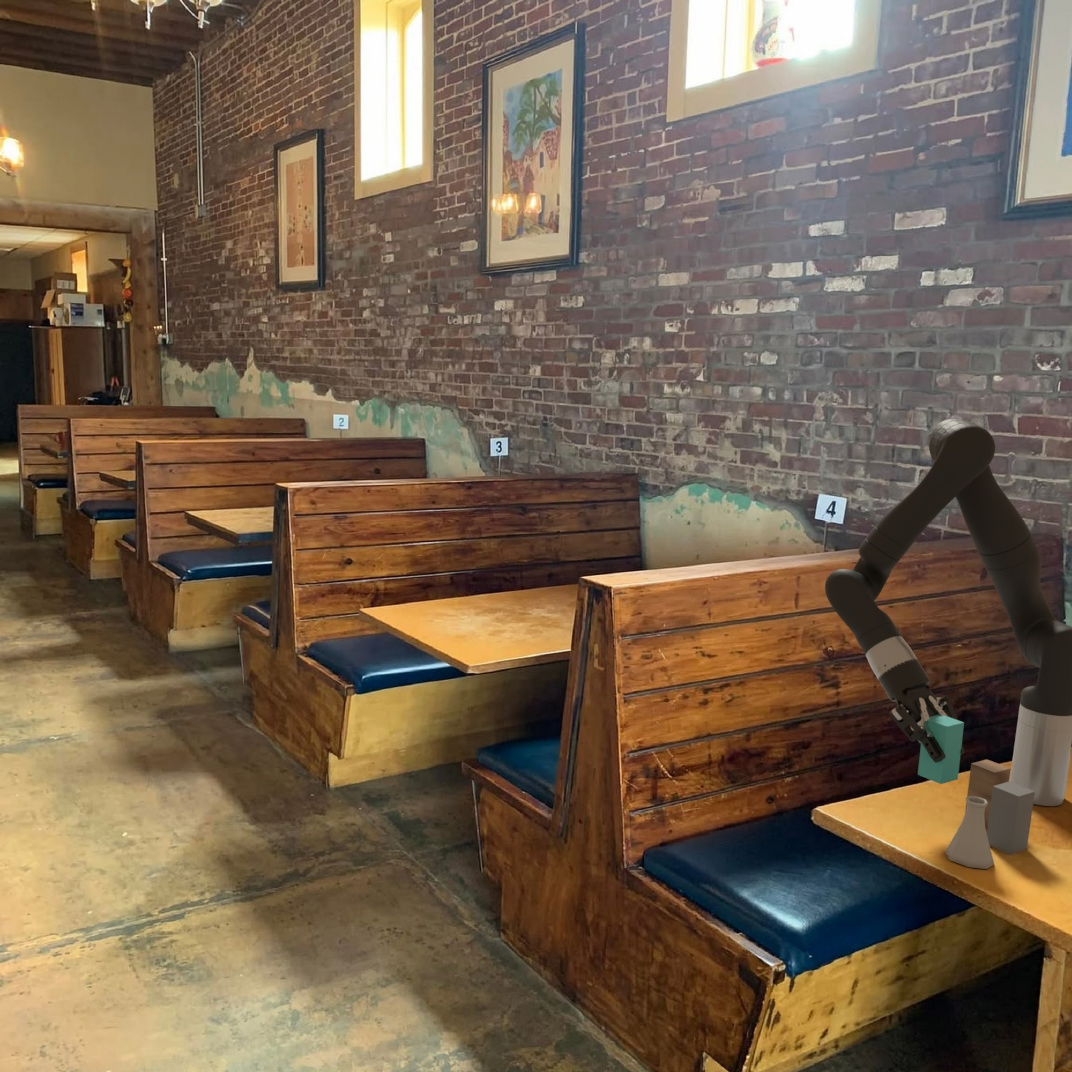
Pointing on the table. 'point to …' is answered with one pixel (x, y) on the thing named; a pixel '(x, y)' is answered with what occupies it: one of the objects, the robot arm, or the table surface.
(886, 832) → the table surface
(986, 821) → the walnut post
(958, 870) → the table surface
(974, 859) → the flask
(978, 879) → the table surface
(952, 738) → the teal post
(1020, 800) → the charcoal post
